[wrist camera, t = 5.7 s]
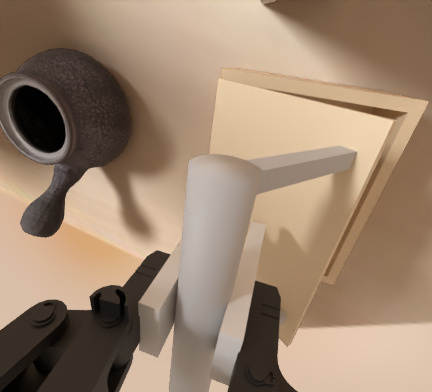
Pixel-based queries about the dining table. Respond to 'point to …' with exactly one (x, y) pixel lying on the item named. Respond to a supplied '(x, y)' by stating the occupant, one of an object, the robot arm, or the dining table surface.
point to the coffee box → (266, 1)
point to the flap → (266, 209)
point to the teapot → (62, 124)
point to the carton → (360, 101)
